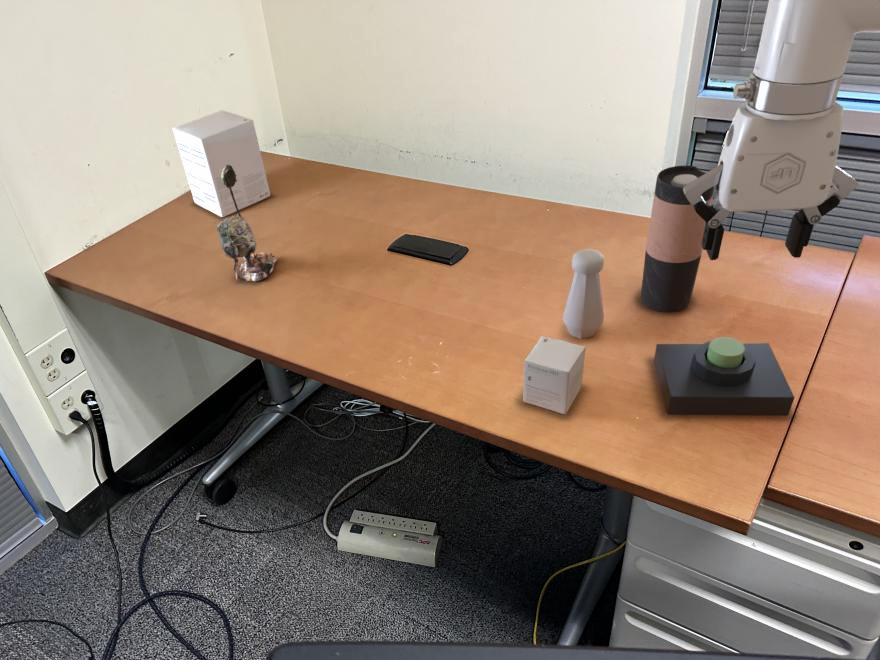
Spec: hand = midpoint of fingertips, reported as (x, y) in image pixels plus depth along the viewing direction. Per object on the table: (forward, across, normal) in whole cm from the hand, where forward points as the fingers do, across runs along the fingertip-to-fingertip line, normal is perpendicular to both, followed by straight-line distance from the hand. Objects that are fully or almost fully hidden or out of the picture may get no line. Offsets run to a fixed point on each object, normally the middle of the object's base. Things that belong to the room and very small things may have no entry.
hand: (751, 252), depth 77 cm
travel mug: (+20, -3, +21) cm, 29 cm away
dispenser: (+20, 0, 0) cm, 20 cm away
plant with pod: (+20, -74, +33) cm, 84 cm away
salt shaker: (+20, -16, +13) cm, 29 cm away
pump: (+15, 0, 0) cm, 15 cm away
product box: (+20, -21, -2) cm, 29 cm away
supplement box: (+20, -89, +66) cm, 113 cm away
